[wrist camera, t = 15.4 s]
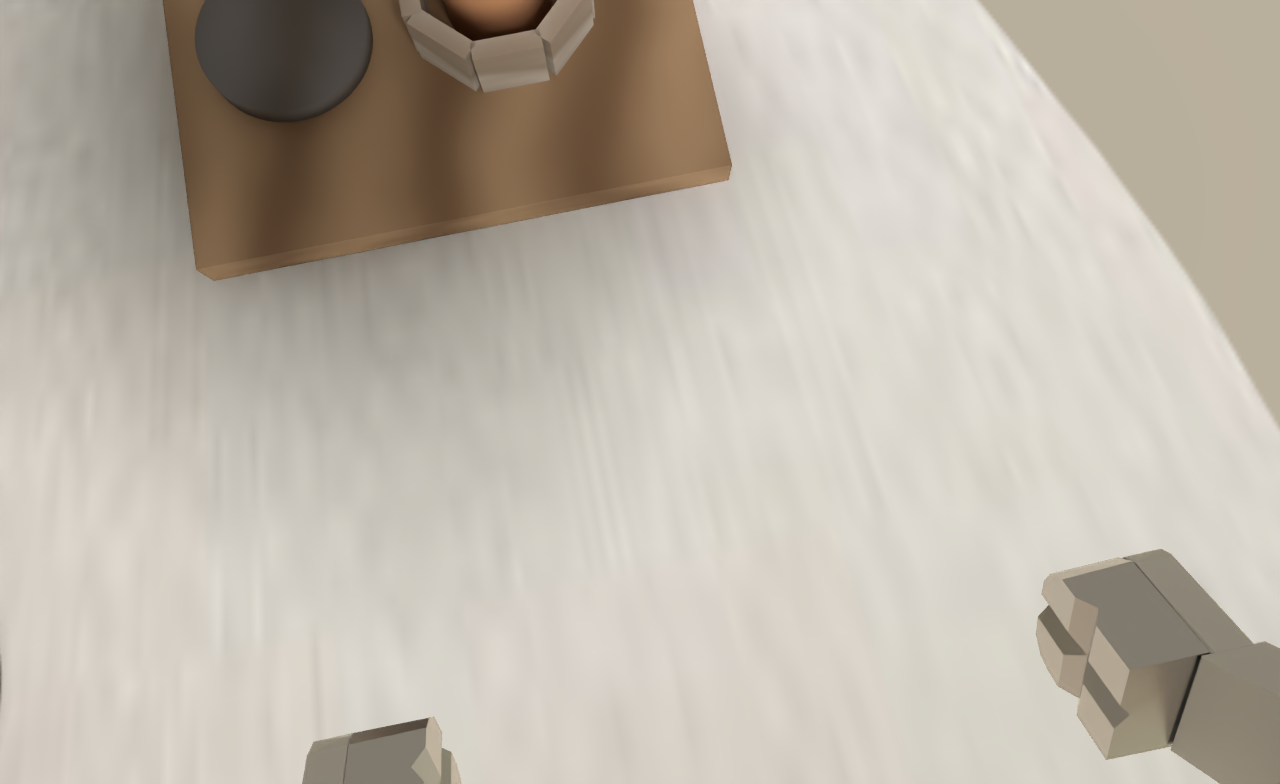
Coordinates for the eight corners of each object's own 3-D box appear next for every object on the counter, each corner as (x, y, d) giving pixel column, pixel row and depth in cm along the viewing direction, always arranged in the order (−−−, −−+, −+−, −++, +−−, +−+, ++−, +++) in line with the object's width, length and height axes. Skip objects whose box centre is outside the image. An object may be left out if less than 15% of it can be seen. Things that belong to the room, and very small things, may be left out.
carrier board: (213, 280, 38) (164, 248, 34) (165, -96, 41) (114, -165, 37) (728, 179, 38) (738, 137, 35) (642, -182, 42) (642, -259, 38)
